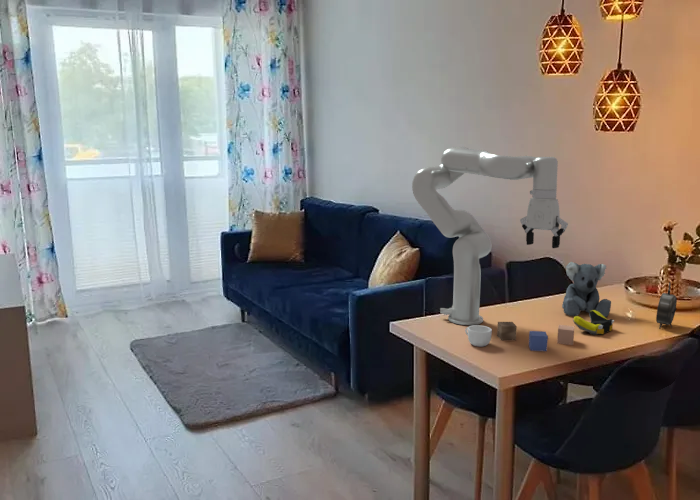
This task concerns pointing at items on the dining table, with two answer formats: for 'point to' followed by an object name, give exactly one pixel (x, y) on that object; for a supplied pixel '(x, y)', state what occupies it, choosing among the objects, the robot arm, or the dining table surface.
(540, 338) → the blue cube
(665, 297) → the alarm clock
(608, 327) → the yellow black angled piece
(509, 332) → the walnut block
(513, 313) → the dining table surface
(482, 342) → the teacup
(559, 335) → the beige cube
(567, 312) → the koala plush
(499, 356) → the dining table surface
